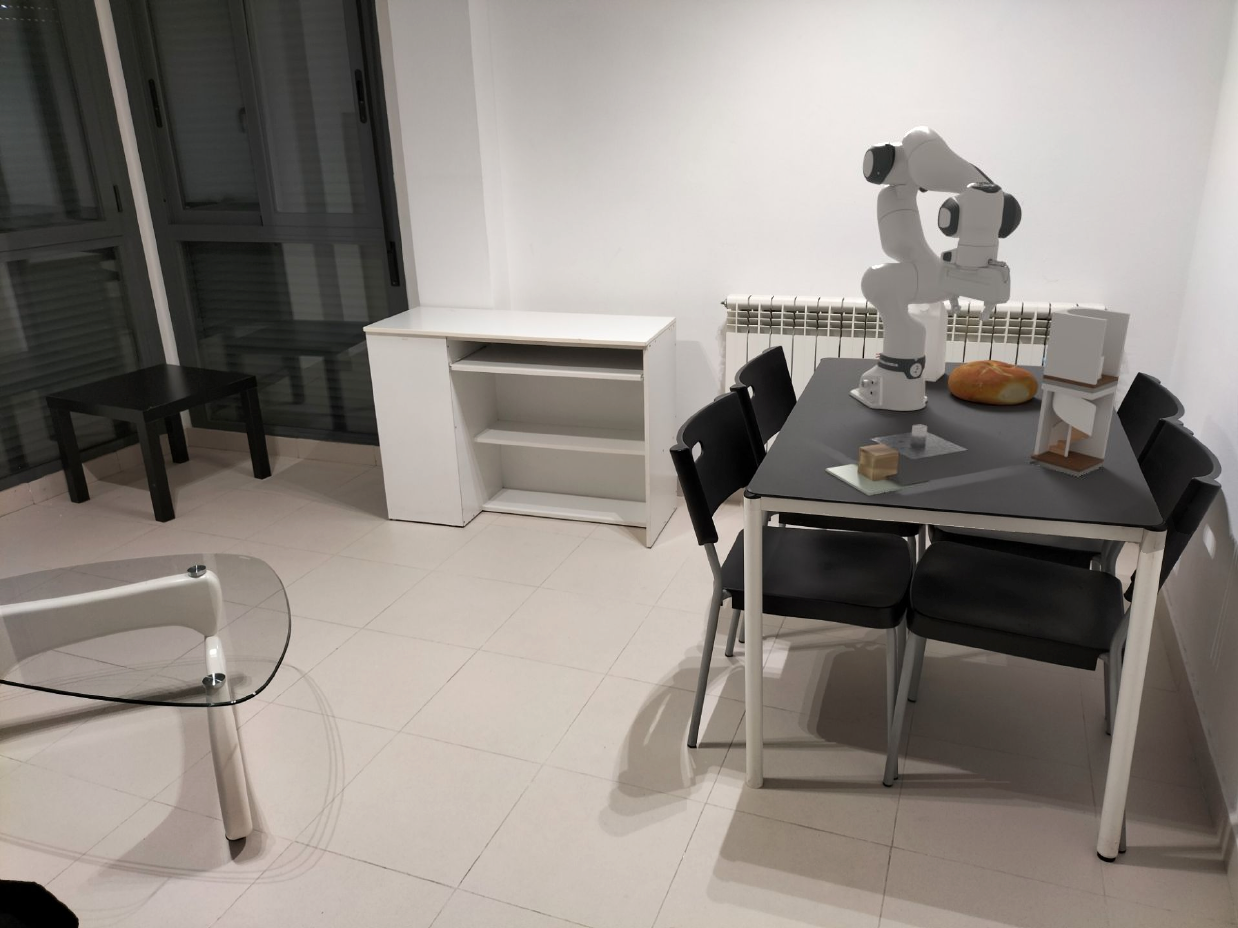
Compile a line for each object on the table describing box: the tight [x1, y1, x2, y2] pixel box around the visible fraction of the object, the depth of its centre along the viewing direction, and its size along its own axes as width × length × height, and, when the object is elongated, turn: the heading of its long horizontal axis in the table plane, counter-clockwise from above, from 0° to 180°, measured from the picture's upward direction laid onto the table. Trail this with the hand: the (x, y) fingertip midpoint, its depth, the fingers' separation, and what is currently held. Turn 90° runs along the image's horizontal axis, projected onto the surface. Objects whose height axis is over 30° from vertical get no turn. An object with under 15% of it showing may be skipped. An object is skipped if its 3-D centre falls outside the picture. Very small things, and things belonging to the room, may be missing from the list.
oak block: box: [857, 443, 900, 481], centre depth 203 cm, size 6×6×6 cm
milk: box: [908, 301, 949, 383], centre depth 281 cm, size 12×12×26 cm
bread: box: [947, 359, 1039, 406], centre depth 261 cm, size 23×23×10 cm
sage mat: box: [825, 462, 931, 497], centre depth 205 cm, size 16×16×1 cm
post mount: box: [870, 423, 968, 460], centre depth 220 cm, size 16×16×6 cm
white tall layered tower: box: [1029, 305, 1131, 477], centre depth 204 cm, size 11×11×35 cm
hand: (969, 317), depth 215 cm, fingers open, 8 cm apart
